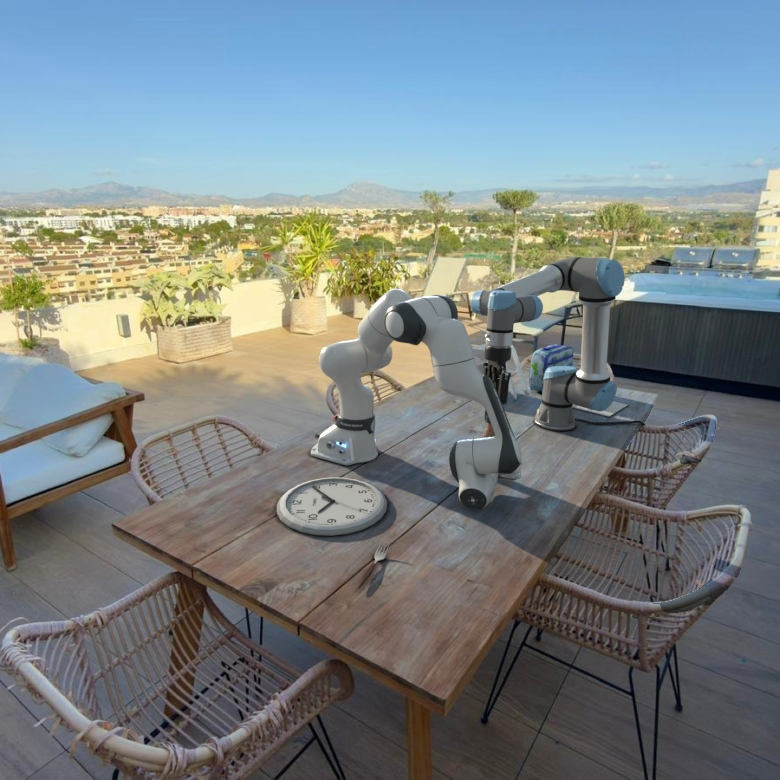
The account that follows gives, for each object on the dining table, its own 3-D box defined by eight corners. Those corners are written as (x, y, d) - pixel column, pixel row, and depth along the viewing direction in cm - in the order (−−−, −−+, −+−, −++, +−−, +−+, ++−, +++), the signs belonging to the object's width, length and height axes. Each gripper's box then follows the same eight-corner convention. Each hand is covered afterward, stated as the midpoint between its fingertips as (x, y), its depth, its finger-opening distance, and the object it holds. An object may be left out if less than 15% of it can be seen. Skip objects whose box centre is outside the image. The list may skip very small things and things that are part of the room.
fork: (352, 589, 110) (352, 581, 109) (380, 547, 124) (380, 540, 123) (364, 592, 109) (364, 583, 108) (390, 550, 123) (390, 542, 123)
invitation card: (608, 416, 214) (573, 407, 224) (608, 416, 214) (573, 408, 224) (628, 404, 229) (594, 396, 238) (628, 405, 229) (594, 397, 238)
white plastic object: (461, 429, 252) (437, 405, 227) (444, 352, 274) (420, 323, 250) (535, 404, 240) (518, 377, 215) (510, 326, 262) (492, 293, 237)
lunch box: (545, 397, 238) (550, 352, 231) (524, 391, 245) (529, 348, 239) (572, 386, 255) (578, 344, 249) (552, 381, 262) (557, 340, 256)
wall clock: (392, 527, 129) (268, 531, 127) (391, 533, 130) (269, 537, 127) (383, 473, 158) (282, 475, 155) (383, 478, 158) (282, 480, 156)
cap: (483, 420, 158) (483, 414, 157) (493, 418, 159) (494, 412, 159) (490, 424, 154) (491, 418, 154) (501, 423, 156) (502, 416, 155)
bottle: (477, 473, 163) (482, 416, 157) (489, 470, 165) (493, 414, 159) (486, 479, 159) (491, 421, 153) (498, 476, 161) (503, 419, 155)
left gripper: (521, 469, 144) (525, 450, 157) (448, 458, 150) (458, 441, 163) (519, 490, 146) (523, 469, 159) (447, 478, 152) (457, 459, 165)
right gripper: (474, 340, 157) (469, 413, 164) (499, 352, 141) (493, 433, 148) (497, 339, 158) (491, 411, 165) (524, 351, 143) (517, 431, 150)
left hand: (489, 455), depth 161 cm, fingers closed on bottle, 4 cm apart
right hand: (492, 421), depth 157 cm, fingers closed on cap, 4 cm apart
